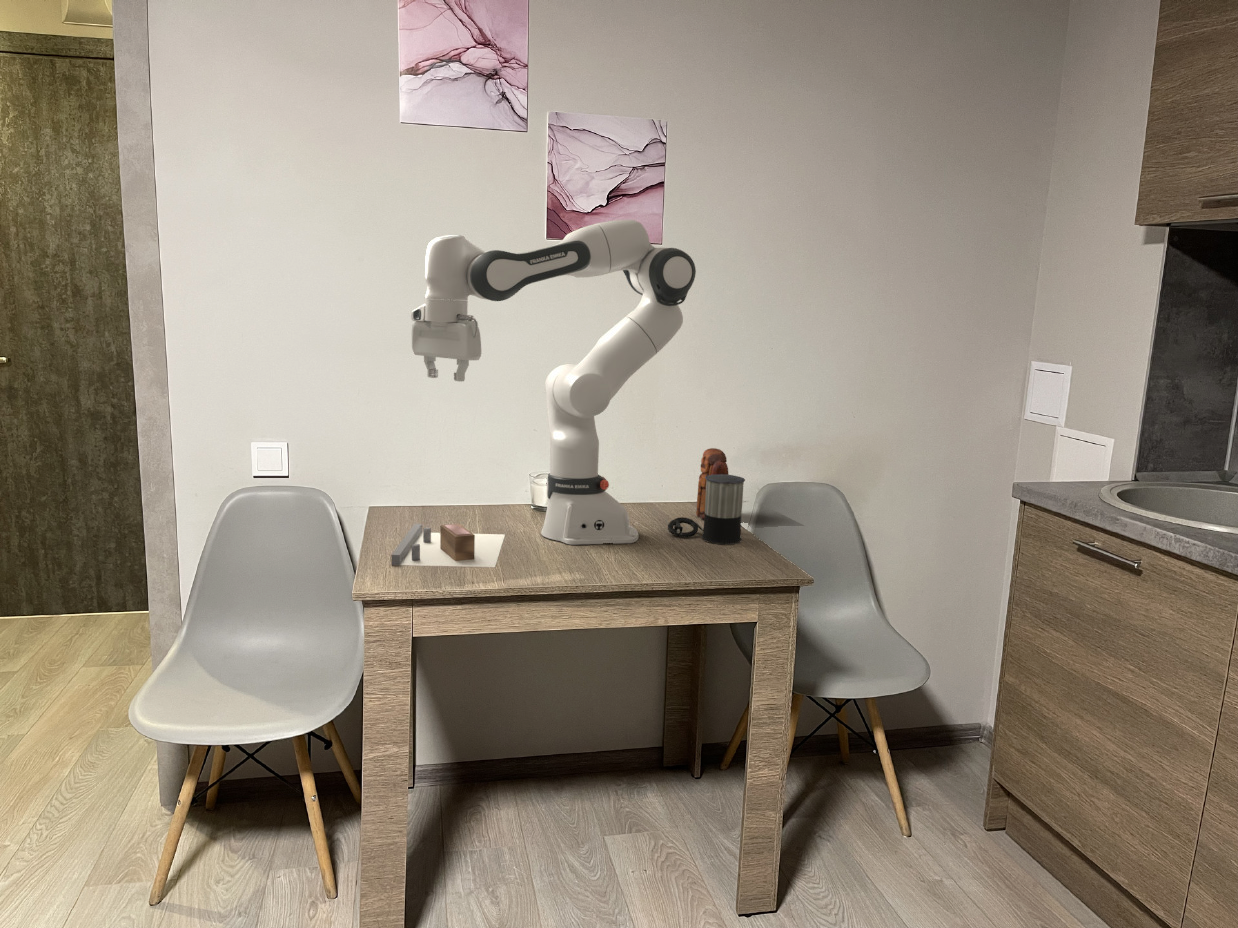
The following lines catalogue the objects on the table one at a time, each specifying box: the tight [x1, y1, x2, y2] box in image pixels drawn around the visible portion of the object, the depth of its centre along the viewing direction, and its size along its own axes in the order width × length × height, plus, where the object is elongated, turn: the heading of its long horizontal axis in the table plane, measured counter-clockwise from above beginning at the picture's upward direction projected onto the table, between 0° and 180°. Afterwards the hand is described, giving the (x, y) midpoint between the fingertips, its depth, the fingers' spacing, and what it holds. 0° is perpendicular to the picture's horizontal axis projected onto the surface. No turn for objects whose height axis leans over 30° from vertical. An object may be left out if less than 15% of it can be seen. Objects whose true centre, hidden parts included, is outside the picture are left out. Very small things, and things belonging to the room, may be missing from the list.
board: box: [390, 522, 506, 568], centre depth 188 cm, size 20×26×4 cm
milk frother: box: [667, 474, 746, 545], centre depth 209 cm, size 14×16×15 cm
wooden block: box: [439, 523, 475, 561], centre depth 184 cm, size 4×10×5 cm, turn 28°
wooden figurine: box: [695, 447, 729, 521], centre depth 230 cm, size 12×6×18 cm, turn 14°
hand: (445, 379), depth 192 cm, fingers open, 8 cm apart
